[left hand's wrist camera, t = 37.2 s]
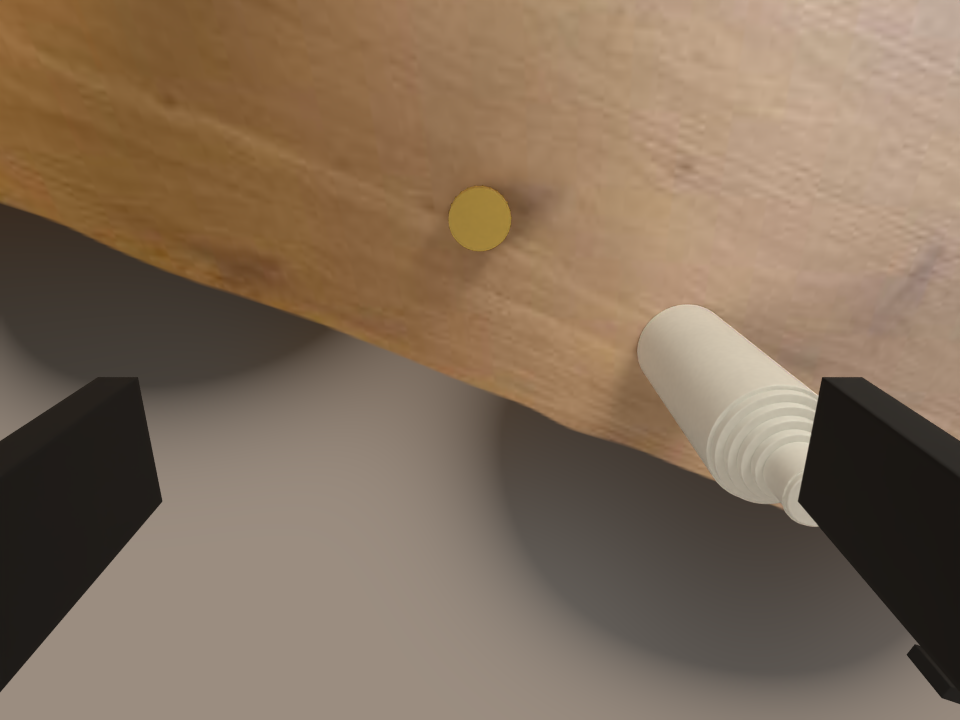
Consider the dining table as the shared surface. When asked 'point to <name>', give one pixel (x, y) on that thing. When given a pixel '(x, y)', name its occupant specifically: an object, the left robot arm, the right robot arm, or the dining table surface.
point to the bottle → (731, 405)
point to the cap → (479, 218)
